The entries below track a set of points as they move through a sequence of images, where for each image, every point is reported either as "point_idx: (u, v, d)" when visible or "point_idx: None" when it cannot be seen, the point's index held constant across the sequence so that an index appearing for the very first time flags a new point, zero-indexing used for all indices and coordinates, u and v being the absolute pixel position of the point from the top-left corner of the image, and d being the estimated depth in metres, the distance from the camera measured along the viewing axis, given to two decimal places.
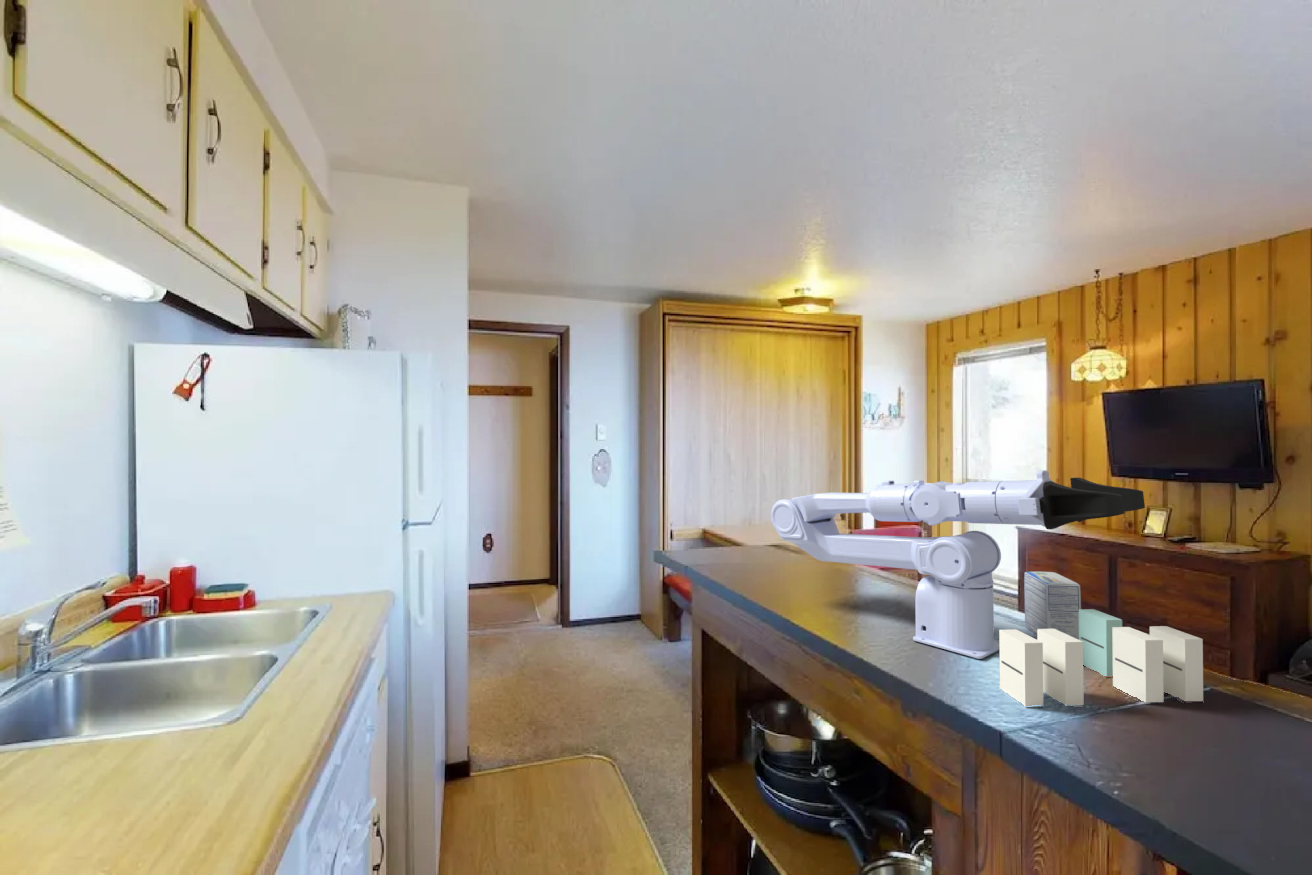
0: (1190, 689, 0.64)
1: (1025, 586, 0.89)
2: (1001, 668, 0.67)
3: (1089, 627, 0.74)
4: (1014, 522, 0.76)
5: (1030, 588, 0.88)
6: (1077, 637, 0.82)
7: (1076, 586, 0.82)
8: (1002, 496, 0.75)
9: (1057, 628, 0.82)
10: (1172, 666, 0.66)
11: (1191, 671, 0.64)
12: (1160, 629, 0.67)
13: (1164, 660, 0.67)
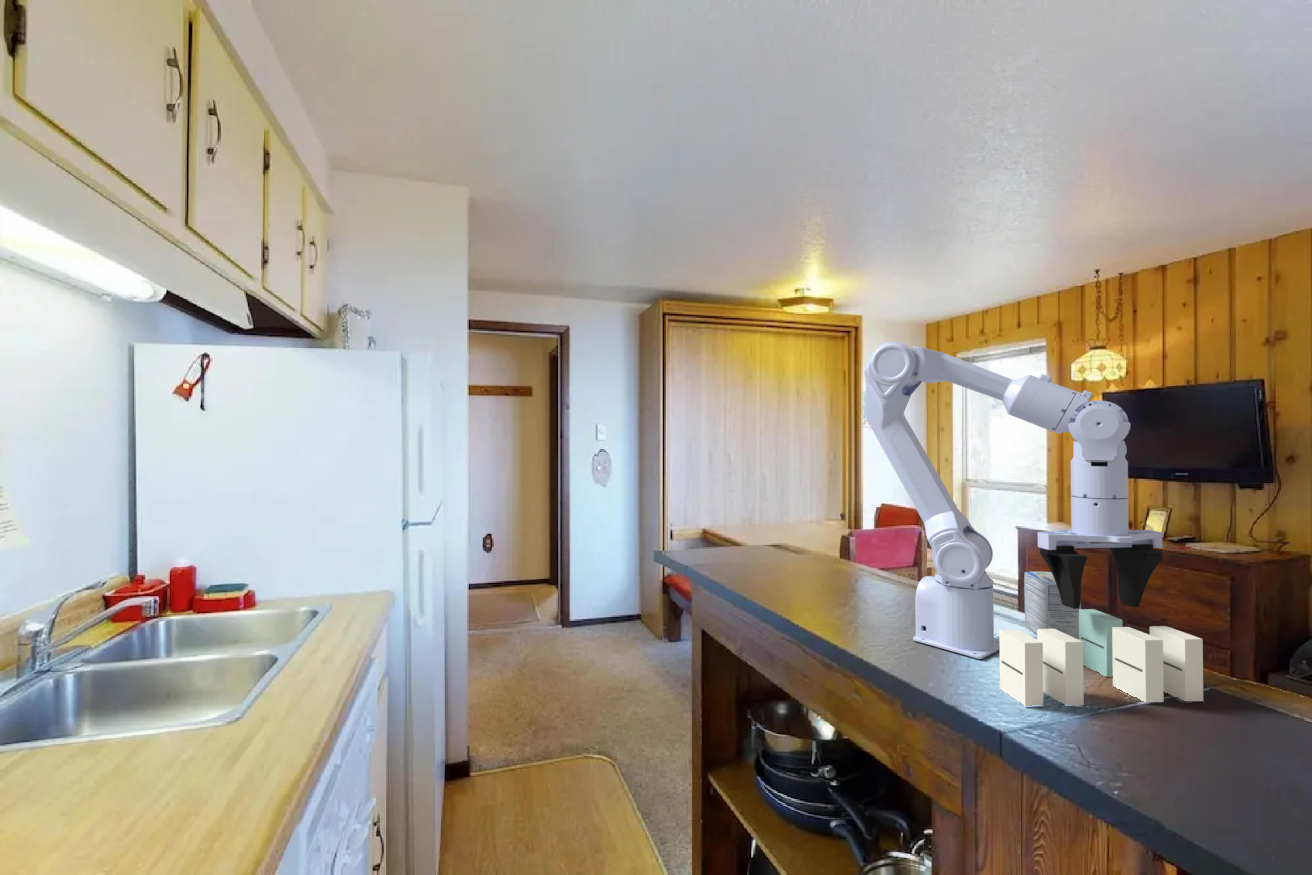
0: (1190, 689, 0.64)
1: (1025, 586, 0.89)
2: (1001, 668, 0.67)
3: (1089, 627, 0.74)
4: None
5: (1030, 588, 0.88)
6: (1077, 637, 0.82)
7: None
8: (1084, 504, 0.72)
9: (1057, 628, 0.82)
10: (1171, 666, 0.66)
11: (1191, 671, 0.64)
12: (1160, 629, 0.67)
13: (1164, 660, 0.67)
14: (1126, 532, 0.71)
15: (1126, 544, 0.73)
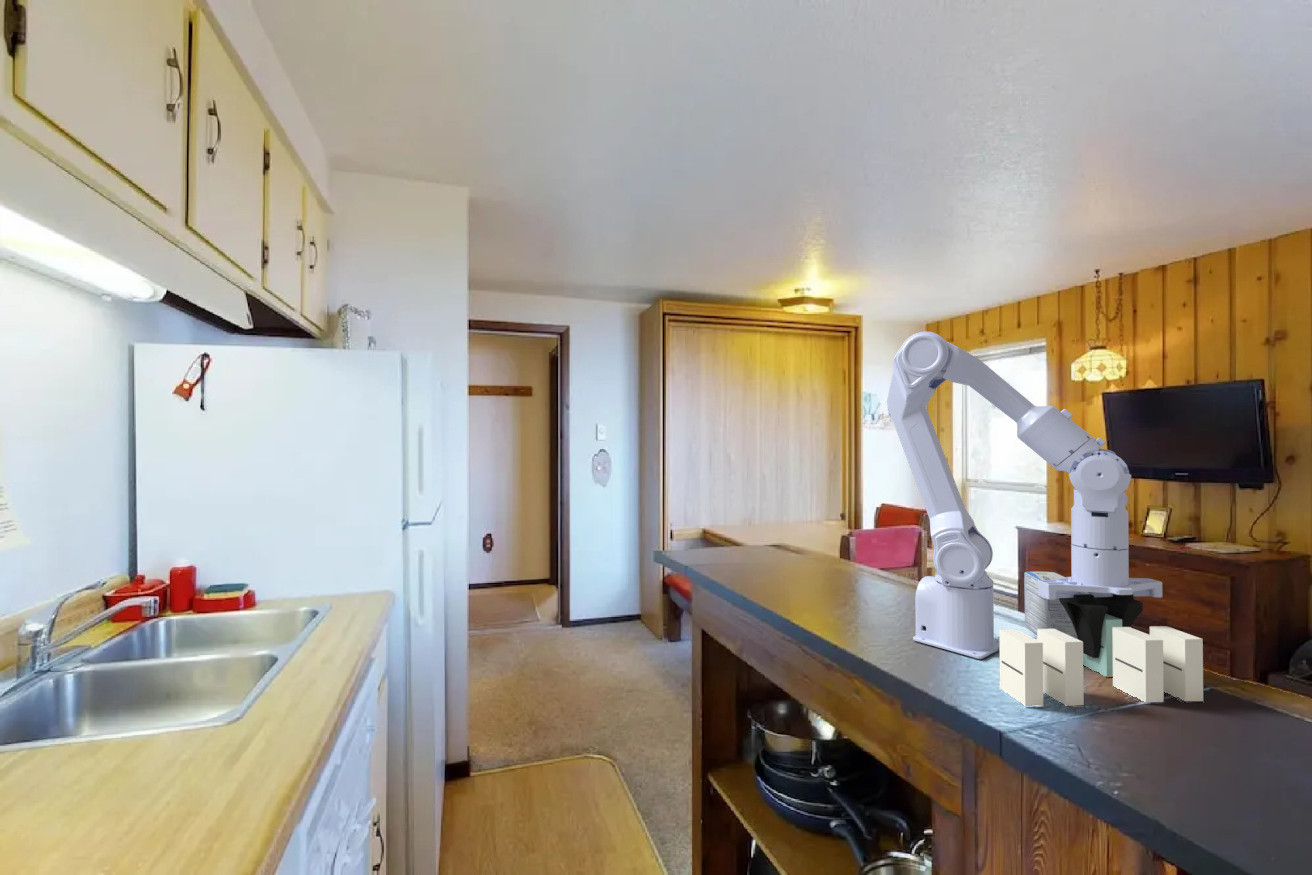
0: (1190, 689, 0.64)
1: (1025, 586, 0.89)
2: (1001, 668, 0.67)
3: None
4: None
5: (1030, 588, 0.88)
6: None
7: None
8: (1084, 554, 0.72)
9: (1057, 628, 0.82)
10: (1172, 666, 0.66)
11: (1191, 671, 0.64)
12: (1160, 629, 0.67)
13: (1164, 660, 0.67)
14: (1126, 583, 0.71)
15: None
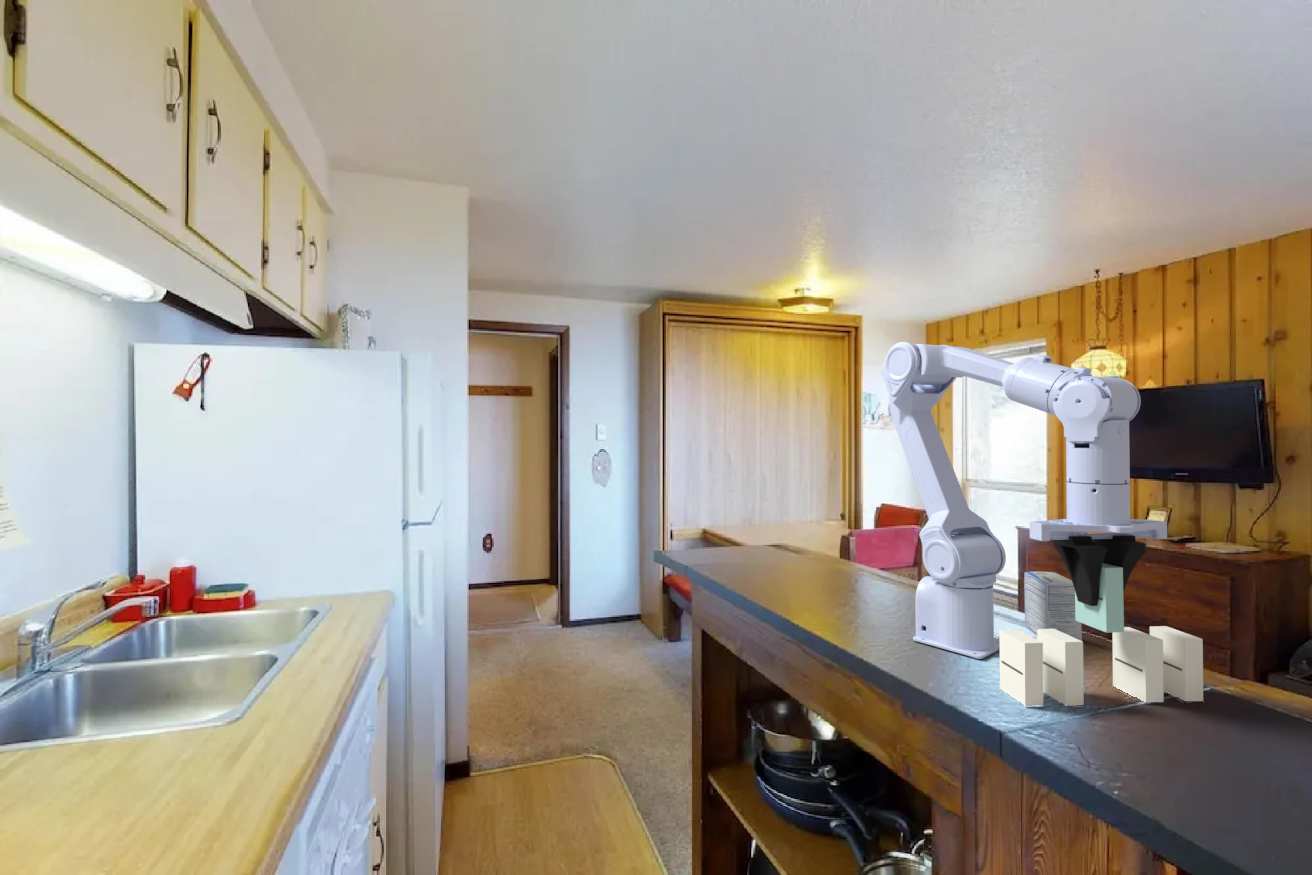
0: (1190, 689, 0.64)
1: (1025, 586, 0.89)
2: (1001, 668, 0.67)
3: None
4: None
5: (1030, 588, 0.88)
6: (1077, 637, 0.82)
7: None
8: (1081, 491, 0.65)
9: (1057, 628, 0.82)
10: (1172, 666, 0.66)
11: (1191, 671, 0.64)
12: (1160, 629, 0.67)
13: (1164, 660, 0.67)
14: (1127, 521, 0.64)
15: (1127, 535, 0.66)
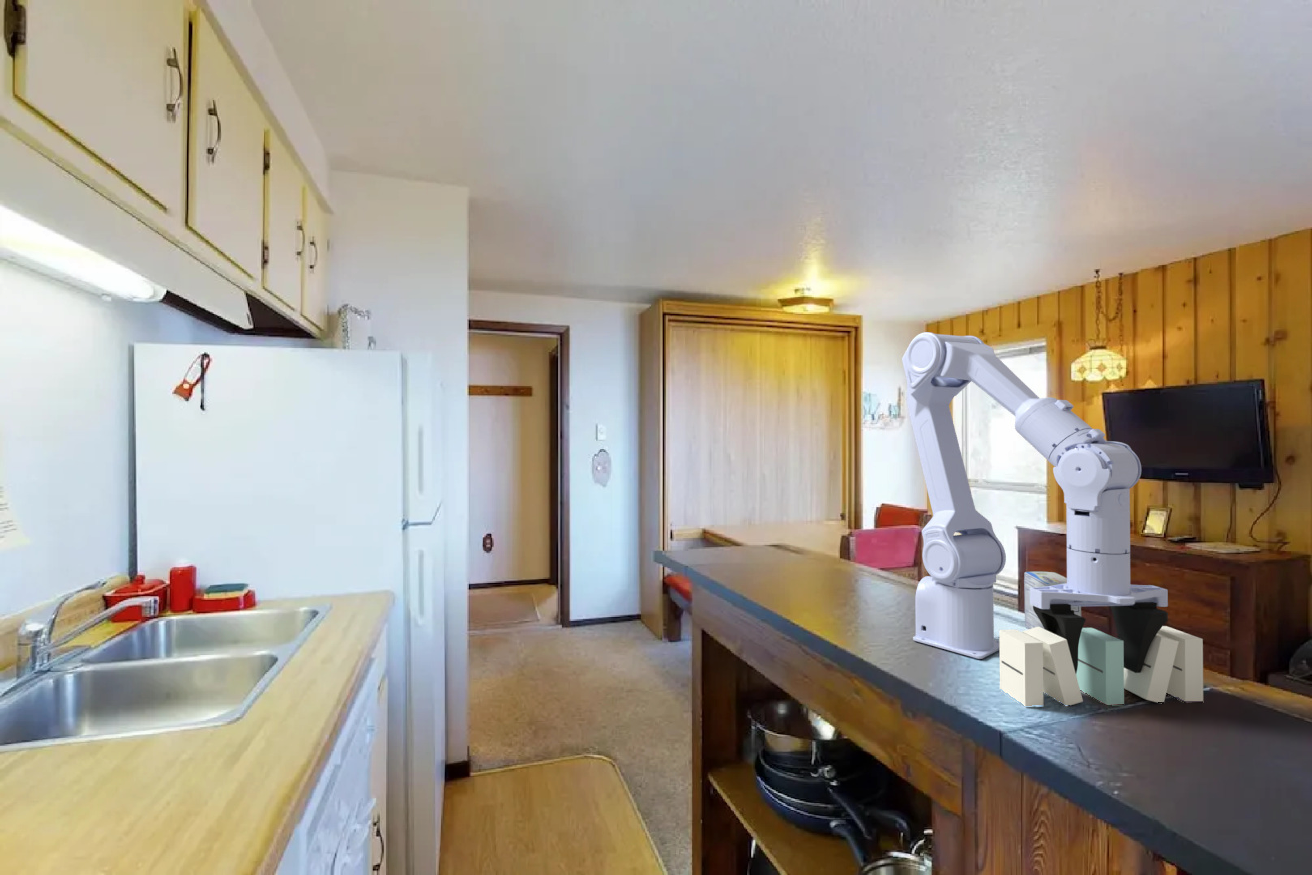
0: (1190, 689, 0.64)
1: (1025, 586, 0.89)
2: (1001, 668, 0.67)
3: (1087, 648, 0.66)
4: None
5: None
6: None
7: None
8: (1081, 558, 0.65)
9: None
10: None
11: (1191, 671, 0.64)
12: (1160, 629, 0.67)
13: None
14: (1128, 591, 0.64)
15: None
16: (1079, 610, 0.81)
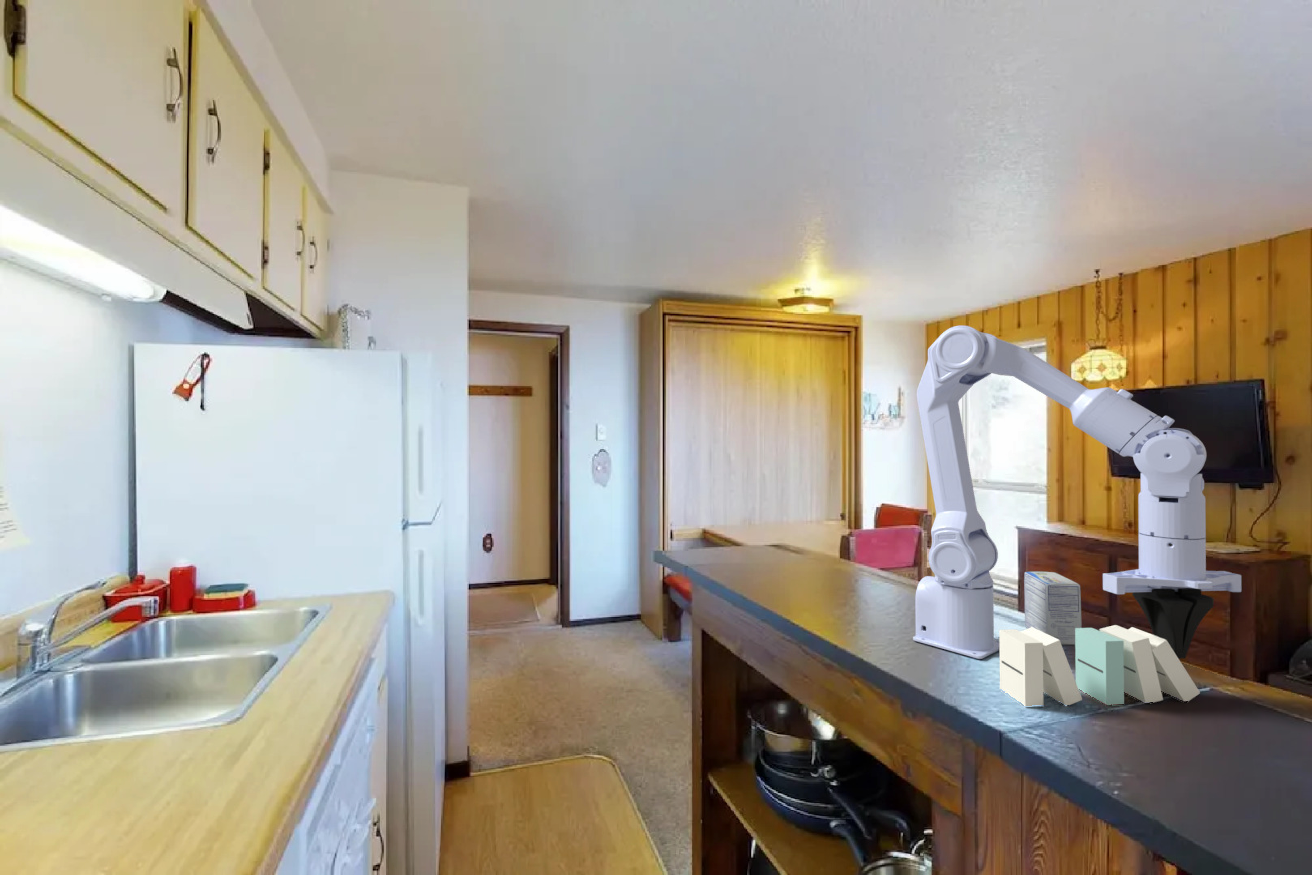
0: (1182, 688, 0.64)
1: (1025, 586, 0.89)
2: (1001, 668, 0.67)
3: (1087, 648, 0.66)
4: None
5: (1030, 588, 0.88)
6: None
7: (1076, 586, 0.82)
8: (1156, 544, 0.65)
9: (1057, 628, 0.82)
10: None
11: (1173, 673, 0.64)
12: None
13: None
14: (1204, 576, 0.64)
15: None
16: (1079, 610, 0.81)
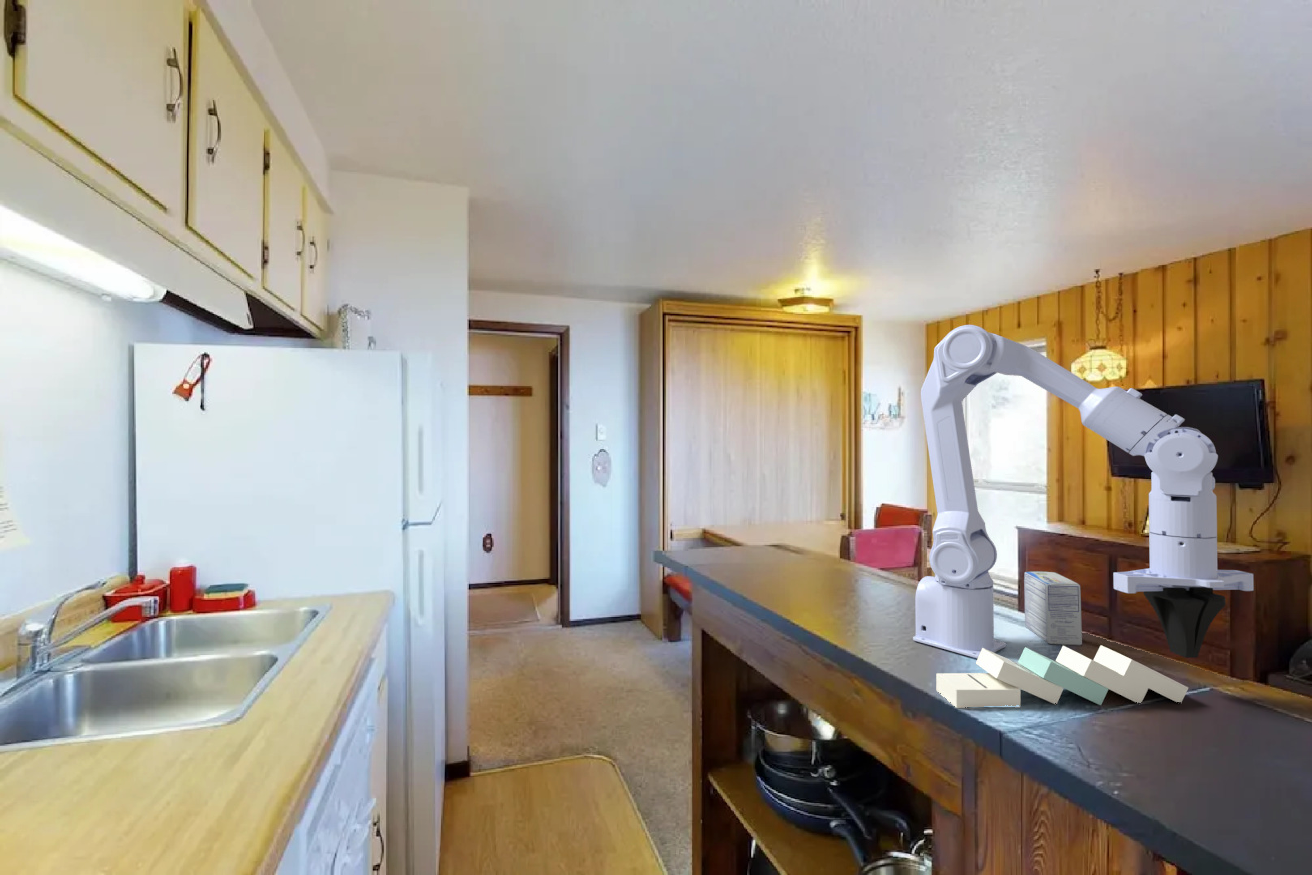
0: (1170, 693, 0.64)
1: (1025, 586, 0.89)
2: None
3: None
4: None
5: (1030, 588, 0.88)
6: (1077, 637, 0.82)
7: (1076, 586, 0.82)
8: (1167, 543, 0.65)
9: (1057, 628, 0.82)
10: None
11: (1155, 684, 0.64)
12: (1101, 661, 0.67)
13: None
14: (1215, 575, 0.64)
15: None
16: (1079, 610, 0.81)
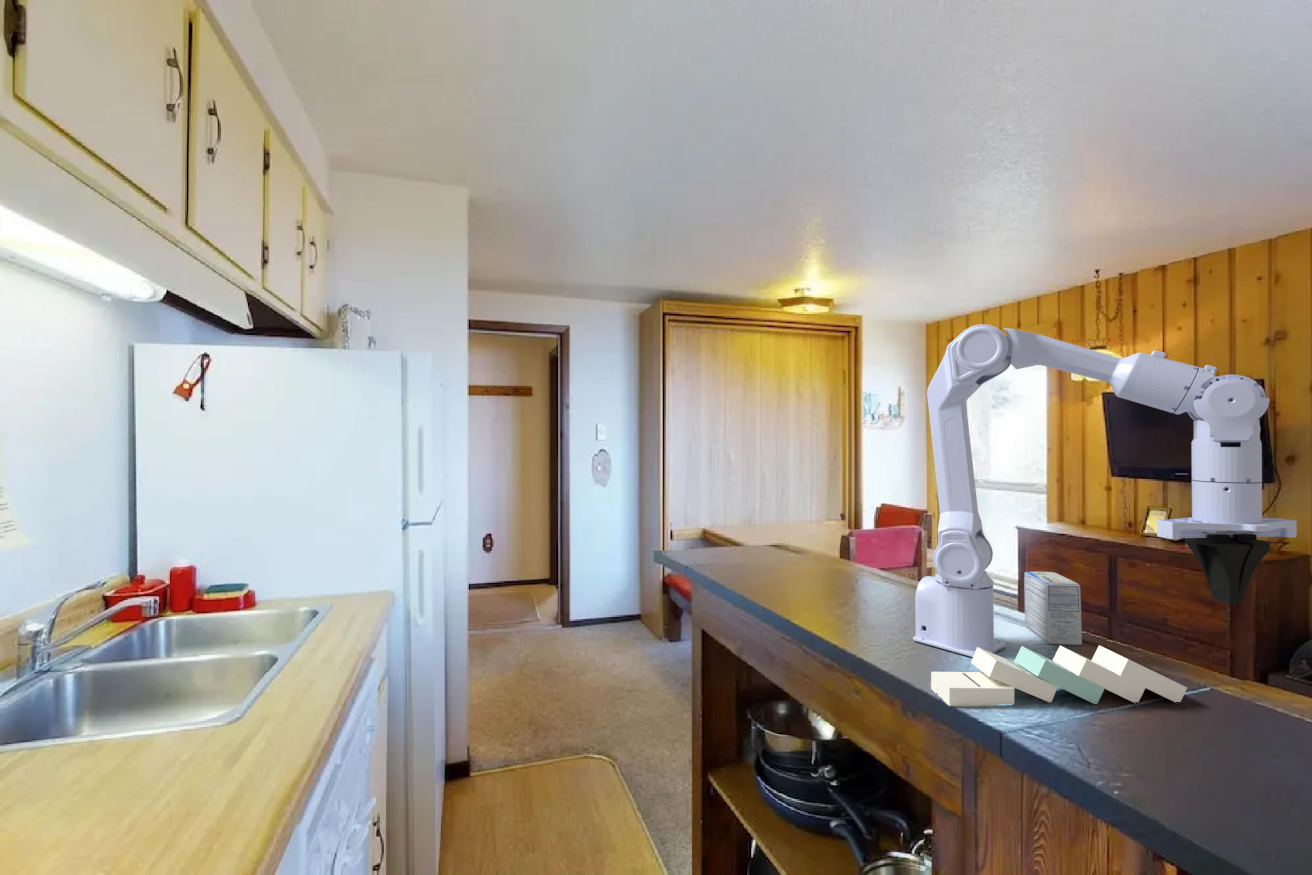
0: (1168, 693, 0.64)
1: (1025, 586, 0.89)
2: None
3: None
4: None
5: (1030, 588, 0.88)
6: (1077, 637, 0.82)
7: (1076, 586, 0.82)
8: (1211, 489, 0.65)
9: (1057, 628, 0.82)
10: None
11: (1152, 684, 0.64)
12: (1099, 661, 0.67)
13: None
14: (1260, 520, 0.64)
15: (1256, 533, 0.66)
16: (1079, 610, 0.81)
